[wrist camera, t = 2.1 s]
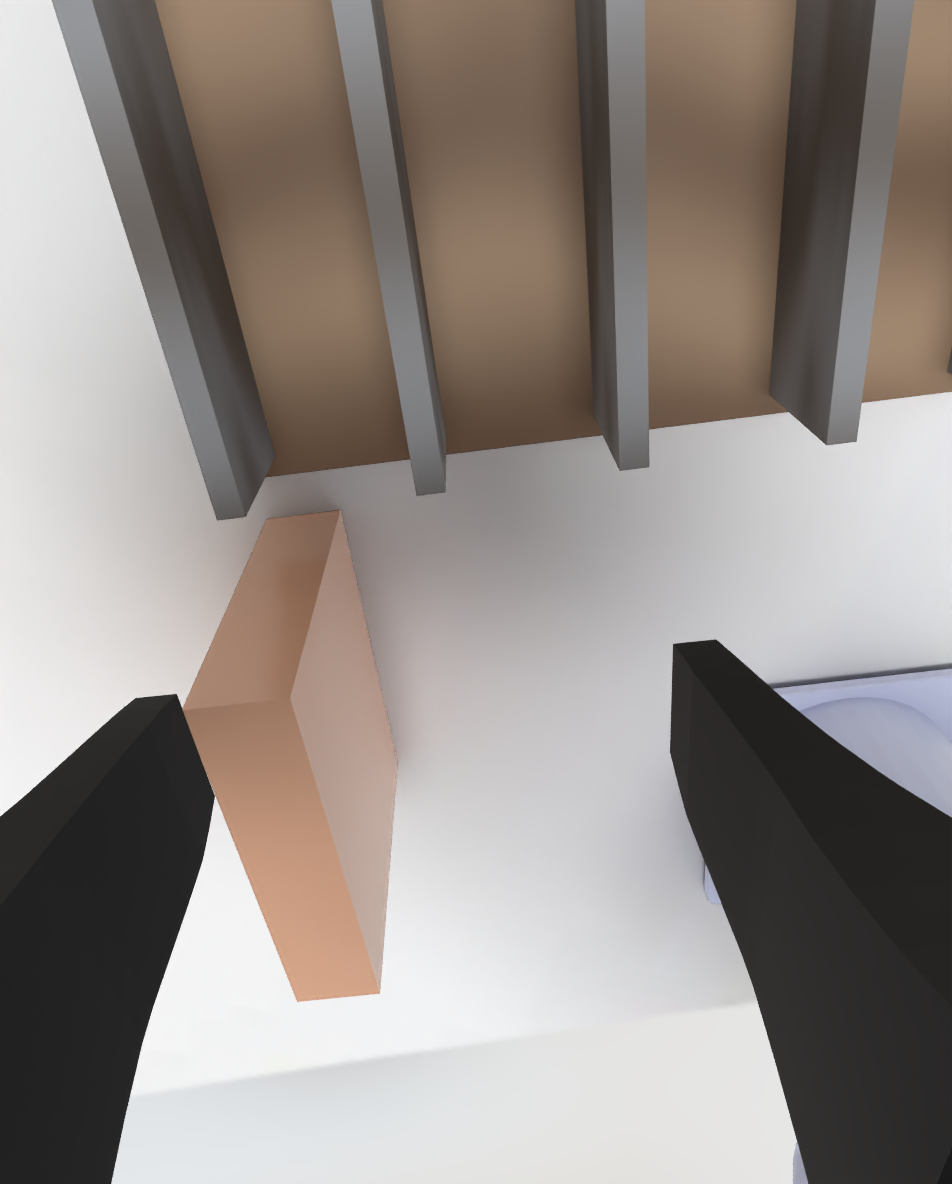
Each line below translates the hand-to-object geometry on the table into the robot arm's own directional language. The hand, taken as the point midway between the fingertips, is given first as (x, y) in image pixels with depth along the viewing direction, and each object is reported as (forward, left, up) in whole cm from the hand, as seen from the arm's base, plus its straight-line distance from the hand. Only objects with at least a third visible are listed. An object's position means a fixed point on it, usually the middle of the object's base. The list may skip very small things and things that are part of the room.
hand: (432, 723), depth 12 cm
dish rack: (+6, -4, -10) cm, 13 cm away
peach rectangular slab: (-6, +4, -10) cm, 12 cm away
